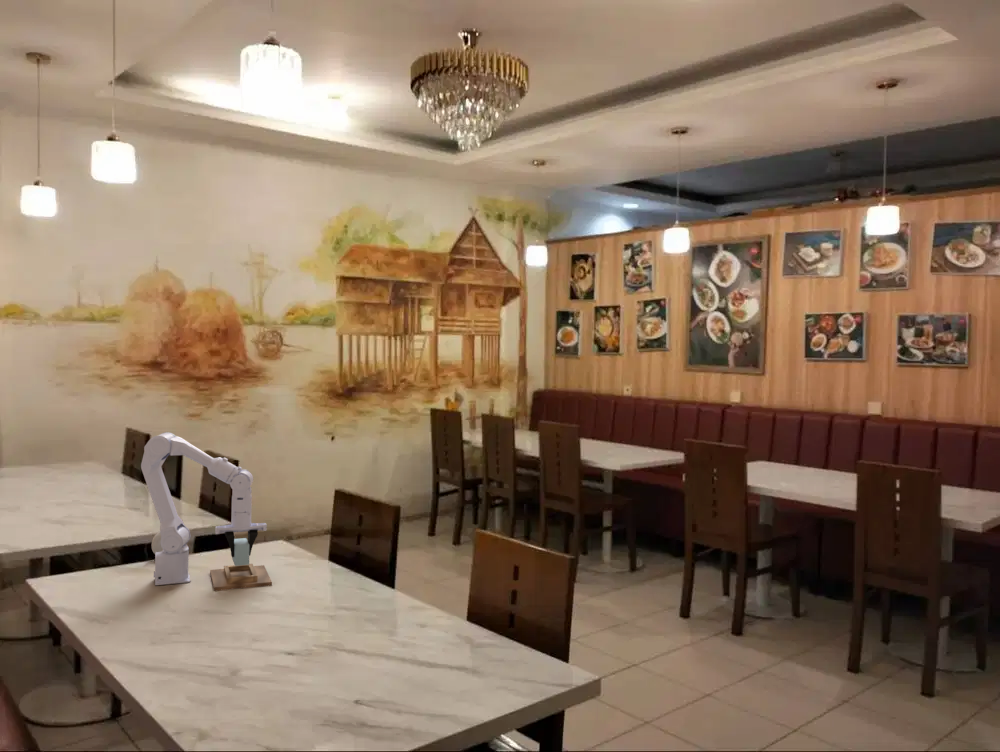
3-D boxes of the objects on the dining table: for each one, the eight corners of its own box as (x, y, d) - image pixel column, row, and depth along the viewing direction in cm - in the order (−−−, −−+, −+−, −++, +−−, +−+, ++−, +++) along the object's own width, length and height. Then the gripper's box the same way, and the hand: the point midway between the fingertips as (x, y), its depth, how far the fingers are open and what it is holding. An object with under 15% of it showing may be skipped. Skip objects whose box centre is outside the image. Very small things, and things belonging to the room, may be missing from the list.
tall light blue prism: (234, 565, 222) (235, 545, 222) (232, 558, 230) (232, 539, 230) (249, 564, 223) (249, 544, 223) (245, 557, 232) (246, 538, 232)
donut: (153, 561, 241) (154, 531, 241) (149, 559, 244) (149, 529, 243) (184, 556, 249) (184, 526, 249) (179, 553, 251) (179, 524, 251)
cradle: (214, 590, 215) (214, 582, 215) (210, 573, 231) (210, 565, 231) (271, 585, 222) (271, 576, 222) (263, 568, 238) (264, 560, 238)
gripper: (264, 506, 232) (264, 550, 233) (215, 509, 226) (214, 554, 227) (267, 511, 226) (267, 556, 226) (216, 514, 220) (215, 560, 220)
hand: (240, 555), depth 226 cm, fingers closed on tall light blue prism, 4 cm apart
